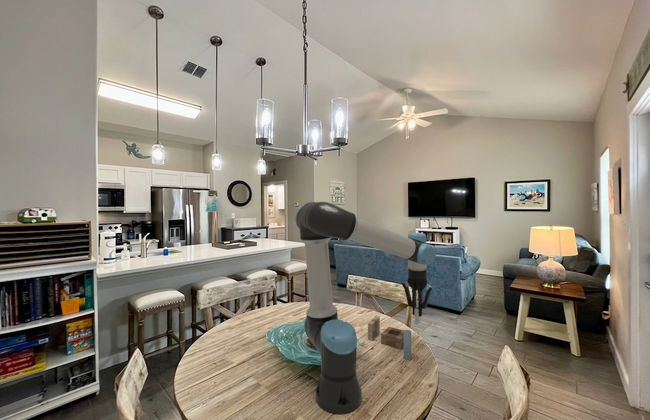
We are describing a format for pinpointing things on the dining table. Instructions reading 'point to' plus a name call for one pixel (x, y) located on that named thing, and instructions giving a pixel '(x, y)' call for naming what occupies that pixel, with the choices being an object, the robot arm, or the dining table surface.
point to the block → (393, 337)
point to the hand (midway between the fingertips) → (417, 322)
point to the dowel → (407, 344)
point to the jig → (373, 328)
